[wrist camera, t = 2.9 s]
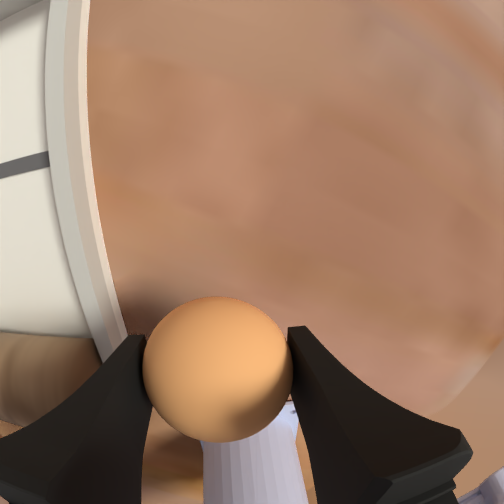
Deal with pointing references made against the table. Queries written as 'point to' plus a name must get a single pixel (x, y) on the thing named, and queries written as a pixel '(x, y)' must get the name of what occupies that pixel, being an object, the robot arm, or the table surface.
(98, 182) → the table surface
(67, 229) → the lane
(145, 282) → the table surface
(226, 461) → the robot arm
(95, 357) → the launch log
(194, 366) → the ball
